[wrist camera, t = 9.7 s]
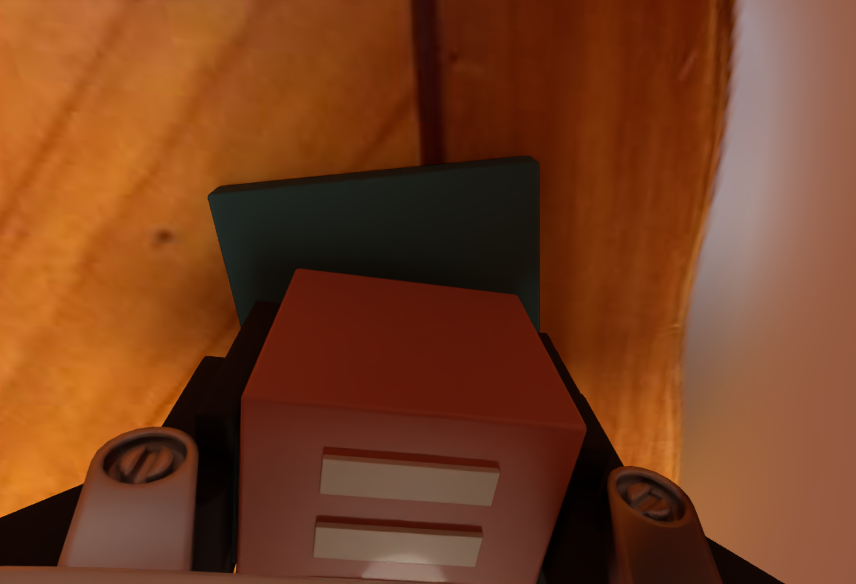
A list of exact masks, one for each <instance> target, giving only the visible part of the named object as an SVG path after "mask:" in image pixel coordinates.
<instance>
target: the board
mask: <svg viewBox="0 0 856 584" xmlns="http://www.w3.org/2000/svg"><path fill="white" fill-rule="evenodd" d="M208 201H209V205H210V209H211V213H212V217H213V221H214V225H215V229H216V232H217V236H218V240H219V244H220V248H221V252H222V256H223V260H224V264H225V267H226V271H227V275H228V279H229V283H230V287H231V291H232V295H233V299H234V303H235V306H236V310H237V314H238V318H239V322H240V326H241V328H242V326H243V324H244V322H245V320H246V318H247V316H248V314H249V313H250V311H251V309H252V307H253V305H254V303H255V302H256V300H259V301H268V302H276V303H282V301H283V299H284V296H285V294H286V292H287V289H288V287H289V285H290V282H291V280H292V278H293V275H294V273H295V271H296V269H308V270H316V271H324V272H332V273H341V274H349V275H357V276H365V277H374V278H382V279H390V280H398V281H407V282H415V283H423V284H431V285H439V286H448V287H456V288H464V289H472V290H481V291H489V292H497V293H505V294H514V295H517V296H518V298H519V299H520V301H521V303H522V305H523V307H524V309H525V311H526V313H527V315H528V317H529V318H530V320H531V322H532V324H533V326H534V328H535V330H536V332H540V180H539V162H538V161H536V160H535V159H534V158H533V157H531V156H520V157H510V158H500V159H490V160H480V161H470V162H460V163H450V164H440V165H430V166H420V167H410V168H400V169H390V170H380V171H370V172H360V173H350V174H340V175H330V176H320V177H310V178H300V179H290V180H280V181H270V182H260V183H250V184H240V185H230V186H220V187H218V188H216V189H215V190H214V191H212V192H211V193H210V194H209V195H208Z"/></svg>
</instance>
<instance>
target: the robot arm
mask: <svg viewBox="0 0 856 584" xmlns="http://www.w3.org/2000/svg"><path fill="white" fill-rule="evenodd" d="M280 306H281V303H276V302H268V301H259V300H256V302H255V303H254V305H253V307H252V309H251V311H250V313H249V314H248V316H247V318H246V320H245V322H244V324H243V326H242V328H241V329H240V331H239V333H238V335H237V337H236V339H235V341H234V342H233V344H232V346H231V348H230V350H229V352H228V354H227V356H226V357H225V358H223V357H213V356H205V357H204V358H203V359H202V361H201V362H200V364H199V366H198V367H197V369H196V371H195V372H194V374H193V376H192V377H191V379H190V381H189V382H188V384H187V386H186V387H185V389H184V390H183V392H182V394H181V395H180V397H179V399H178V400H177V402H176V404H175V405H174V407H173V409H172V410H171V412H170V414H169V415H168V417H167V418H166V420H165V422H164V423H163V425H162V427H147V428H140V429H135V430H132V431H129V432H126V433H123V434H120V435H119V436H117V437H115V438H113V439H111V440H109V441H108V442H106V443H105V444H104V445H103V446H102V447H101V448H100V449H99V450H97V452H96V454H95V455H94V457H93V459H92V460H91V463H90V466H89V469H88V472H87V475H86V478H85V481H84V484H81V485H79V486H77V487H74V488H72V489H69V490H67V491H64V492H62V493H59V494H57V495H55V496H52V497H50V498H47V499H45V500H42V501H40V502H38V503H35V504H33V505H30V506H28V507H25V508H23V509H20V510H18V511H16V512H13V513H11V514H8V515H6V516H3V517H1V518H0V584H439V583H420V582H401V581H382V580H363V579H343V578H322V577H301V576H280V575H259V574H238V573H233V572H234V568H235V565H236V560H237V526H238V492H239V458H240V424H241V397H242V394H243V392H244V390H245V387H246V385H247V383H248V380H249V378H250V376H251V373H252V371H253V369H254V366H255V364H256V362H257V359H258V357H259V355H260V352H261V350H262V348H263V345H264V343H265V341H266V338H267V336H268V334H269V331H270V329H271V327H272V324H273V322H274V320H275V317H276V315H277V313H278V310H279V308H280ZM537 334H538V336H539V337H540V339H541V341H542V343H543V345H544V347H545V349H546V351H547V353H548V354H549V356H550V358H551V360H552V362H553V364H554V366H555V368H556V370H557V372H558V373H559V375H560V377H561V379H562V381H563V383H564V385H565V387H566V389H567V391H568V392H569V394H570V396H571V398H572V400H573V402H574V404H575V406H576V408H577V409H578V411H579V413H580V415H581V417H582V419H583V421H584V423H585V425H586V434H585V437H584V440H583V443H582V446H581V449H580V452H579V455H578V458H577V461H576V464H575V467H574V470H573V473H572V476H571V479H570V482H569V485H568V488H567V491H566V494H565V497H564V500H563V503H562V506H561V509H560V512H559V515H558V518H557V521H556V524H555V527H554V530H553V533H552V536H551V539H550V542H549V545H548V548H547V552H546V555H545V558H544V561H543V564H542V567H541V570H540V573H539V576H538V579H537V582H536V584H784V583H783V582H781V581H779V580H777V579H776V578H774V577H773V576H771V575H769V574H768V573H766V572H764V571H763V570H761V569H759V568H758V567H756V566H754V565H752V564H751V563H749V562H748V561H746V560H744V559H742V558H741V557H739V556H738V555H736V554H734V553H733V552H731V551H729V550H727V549H726V548H724V547H723V546H721V545H719V544H718V543H716V542H714V541H713V540H711V539H709V538H708V537H706V536H705V534H704V532H703V529H702V526H701V523H700V521H699V518H698V515H697V512H696V510H695V507H694V505H693V504H692V502H691V500H690V498H689V497H688V495H686V493H685V492H684V491H683V490H682V489H681V488H680V487H679V486H677V485H676V484H675V483H673V482H672V481H671V480H669V479H668V478H666V477H664V476H662V475H660V474H658V473H656V472H654V471H651V470H648V469H645V468H641V467H634V466H624V465H623V464H622V462H621V460H620V458H619V457H618V455H617V453H616V451H615V450H614V448H613V446H612V444H611V443H610V441H609V439H608V437H607V435H606V434H605V432H604V430H603V428H602V427H601V425H600V423H599V421H598V420H597V418H596V416H595V414H594V413H593V411H592V409H591V407H590V405H589V404H588V402H587V400H586V398H585V397H584V396H583V395H582V394H581V393H580V391H579V390H578V388H577V386H576V384H575V383H574V381H573V379H572V377H571V375H570V374H569V372H568V370H567V368H566V367H565V365H564V363H563V361H562V359H561V358H560V356H559V354H558V352H557V350H556V349H555V347H554V345H553V343H552V342H551V340H550V338H549V336H548V335H547V334H546V333H542V332H537Z"/></svg>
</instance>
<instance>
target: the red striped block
mask: <svg viewBox="0 0 856 584" xmlns="http://www.w3.org/2000/svg"><path fill="white" fill-rule="evenodd" d="M585 434H586V425H585V423H584V421H583V419H582V417H581V415H580V413H579V411H578V409H577V408H576V406H575V404H574V402H573V400H572V398H571V396H570V394H569V392H568V391H567V389H566V387H565V385H564V383H563V381H562V379H561V377H560V375H559V373H558V372H557V370H556V368H555V366H554V364H553V362H552V360H551V358H550V356H549V354H548V353H547V351H546V349H545V347H544V345H543V343H542V341H541V339H540V337H539V336H538V334H537V332H536V330H535V328H534V326H533V324H532V322H531V320H530V318H529V317H528V315H527V313H526V311H525V309H524V307H523V305H522V303H521V301H520V299H519V298H518V296H517V295H514V294H505V293H497V292H489V291H481V290H472V289H464V288H456V287H448V286H439V285H431V284H423V283H415V282H407V281H398V280H390V279H382V278H374V277H365V276H357V275H349V274H341V273H332V272H324V271H316V270H308V269H296V271H295V273H294V275H293V278H292V280H291V282H290V285H289V287H288V289H287V292H286V294H285V296H284V299H283V301H282V303H281V306H280V308H279V310H278V313H277V315H276V317H275V320H274V322H273V324H272V327H271V329H270V331H269V334H268V336H267V338H266V341H265V343H264V345H263V348H262V350H261V352H260V355H259V357H258V359H257V362H256V364H255V366H254V369H253V371H252V373H251V376H250V378H249V380H248V383H247V385H246V387H245V390H244V392H243V394H242V397H241V424H240V458H239V492H238V526H237V560H236V573H238V574H259V575H280V576H301V577H322V578H343V579H363V580H382V581H401V582H420V583H439V584H536V582H537V579H538V576H539V573H540V570H541V567H542V564H543V561H544V558H545V555H546V552H547V548H548V545H549V542H550V539H551V536H552V533H553V530H554V527H555V524H556V521H557V518H558V515H559V512H560V509H561V506H562V503H563V500H564V497H565V494H566V491H567V488H568V485H569V482H570V479H571V476H572V473H573V470H574V467H575V464H576V461H577V458H578V455H579V452H580V449H581V446H582V443H583V440H584V437H585Z"/></svg>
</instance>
